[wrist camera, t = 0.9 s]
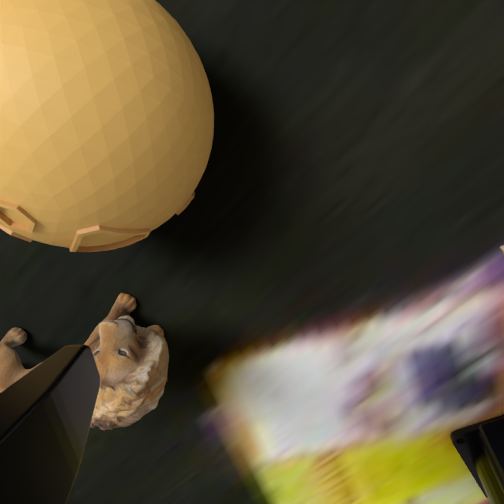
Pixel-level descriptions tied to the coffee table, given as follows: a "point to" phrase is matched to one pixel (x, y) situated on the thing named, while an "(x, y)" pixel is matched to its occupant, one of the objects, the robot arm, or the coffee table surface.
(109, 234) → the stress ball
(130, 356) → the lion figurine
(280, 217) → the coffee table surface
